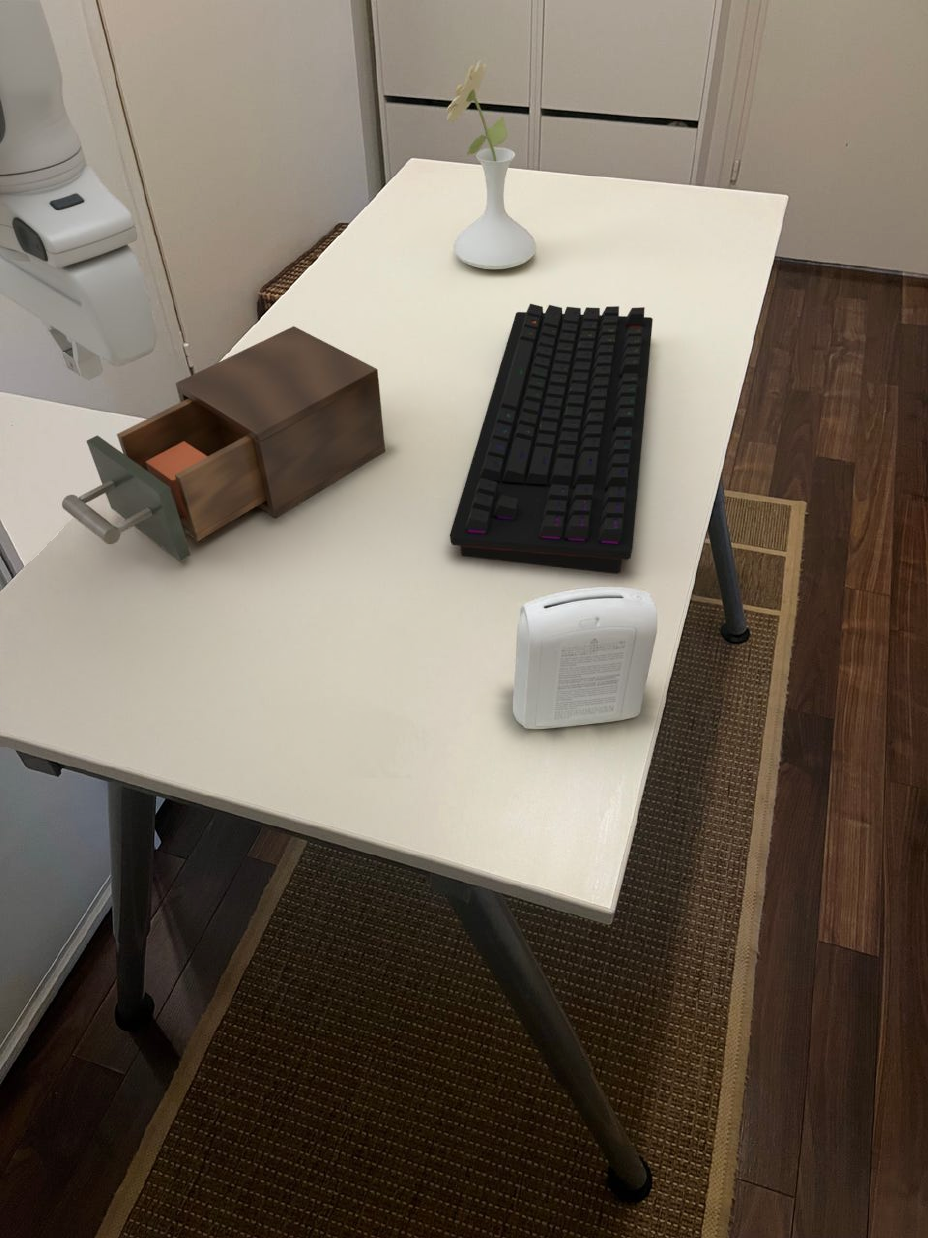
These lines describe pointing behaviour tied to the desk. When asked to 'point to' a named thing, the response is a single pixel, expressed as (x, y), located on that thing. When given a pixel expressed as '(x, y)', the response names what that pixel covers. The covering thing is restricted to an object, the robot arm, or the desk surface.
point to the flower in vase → (490, 193)
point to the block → (174, 468)
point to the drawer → (205, 487)
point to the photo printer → (583, 657)
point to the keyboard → (560, 443)
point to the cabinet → (296, 412)
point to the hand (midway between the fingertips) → (84, 371)
